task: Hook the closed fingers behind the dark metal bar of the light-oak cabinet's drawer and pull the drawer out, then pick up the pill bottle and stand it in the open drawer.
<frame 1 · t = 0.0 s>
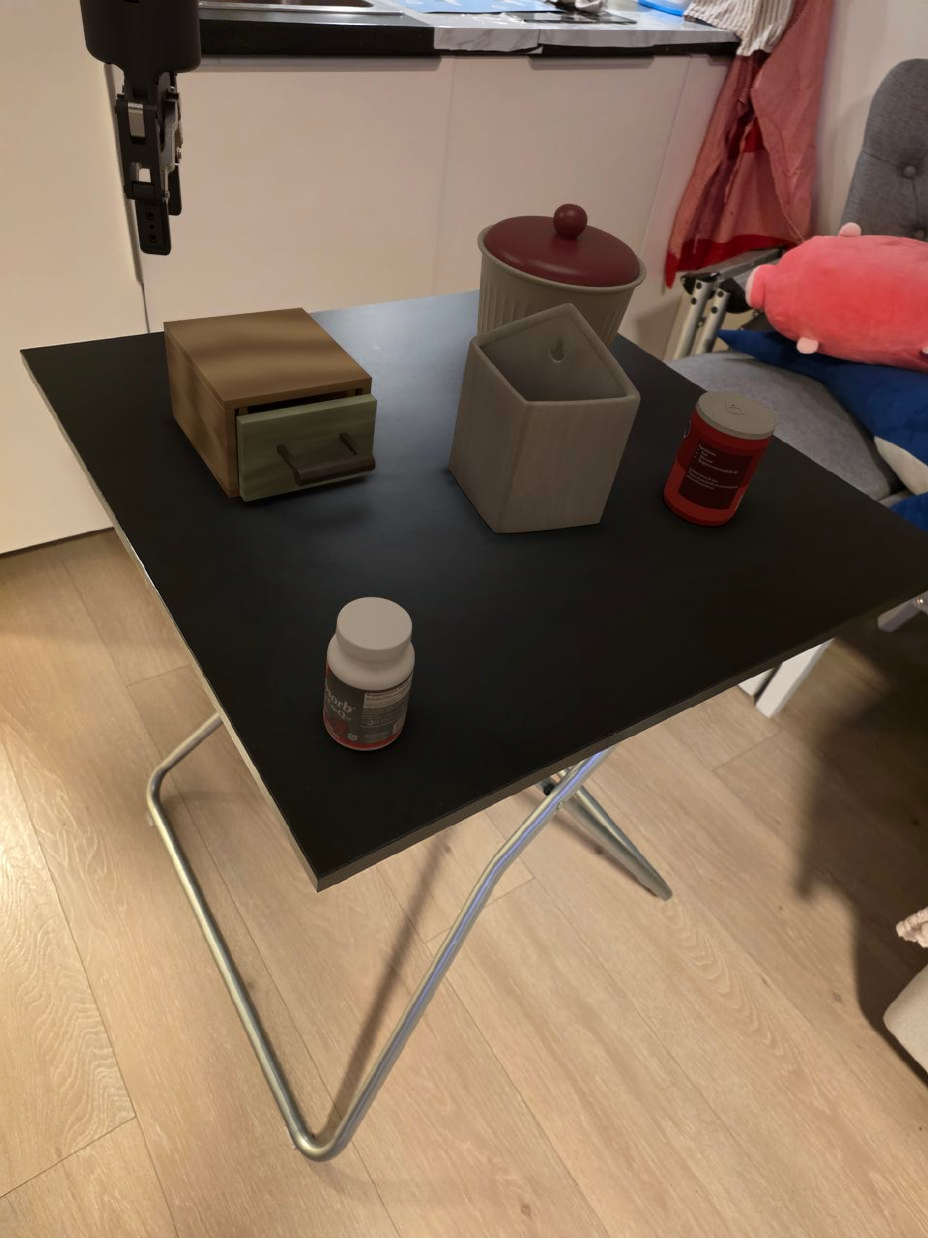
hand: (162, 232, 64), 19 cm above the table, tool pointing down, fingers open, 8 cm apart
pill bottle: (363, 722, 57), on the table
canister: (529, 395, 95), on the table
cabinet: (268, 442, 80), on the table
drawer: (291, 426, 73), point 5 cm above the table, slide at 1.0 cm
red supplement jar: (696, 506, 84), on the table
planter: (509, 513, 78), on the table
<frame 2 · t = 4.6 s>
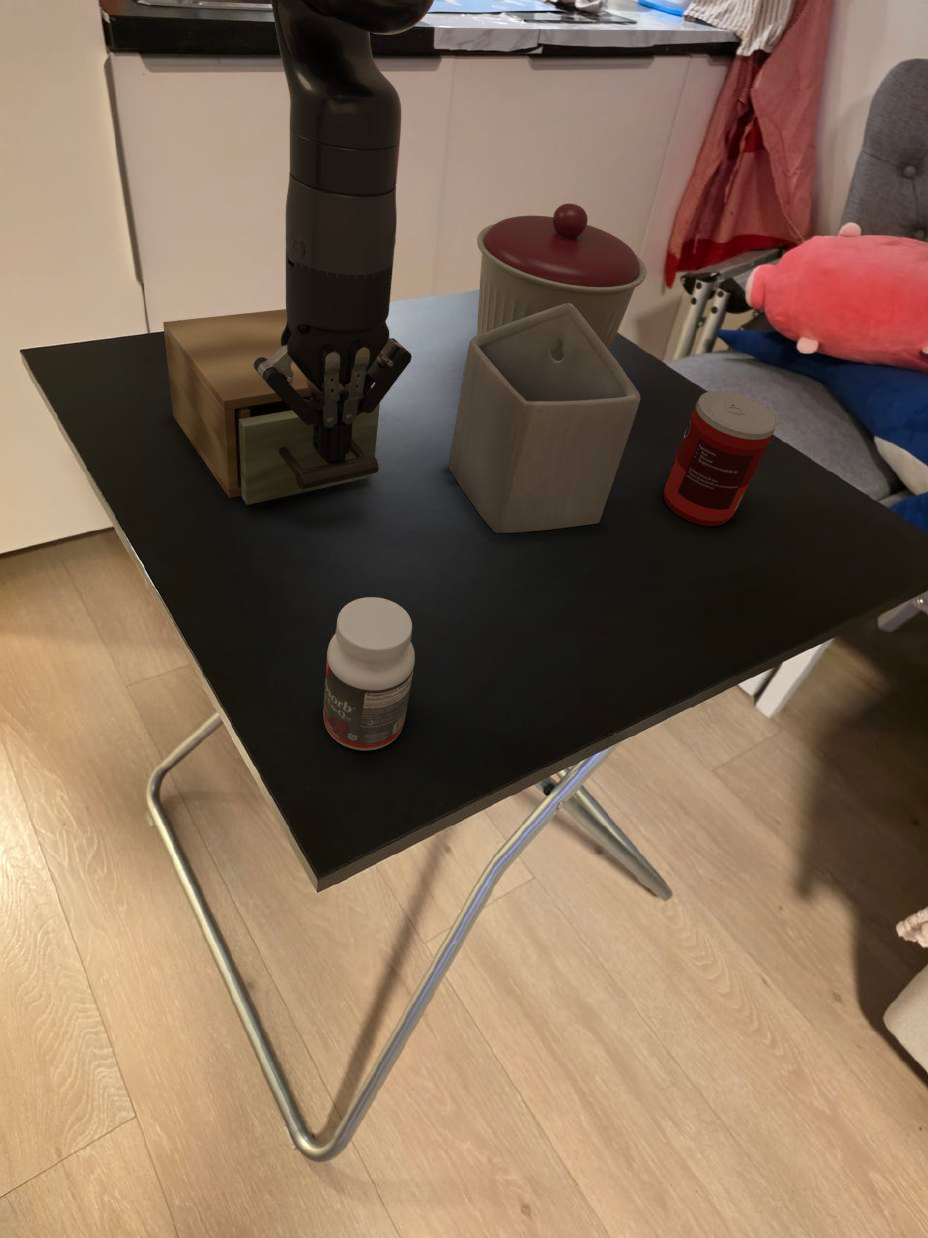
hand: (331, 457, 68), 6 cm above the table, tool pointing down, fingers closed
drawer: (293, 429, 73), point 5 cm above the table, slide at 1.5 cm, touching gripper
everything else where it was.
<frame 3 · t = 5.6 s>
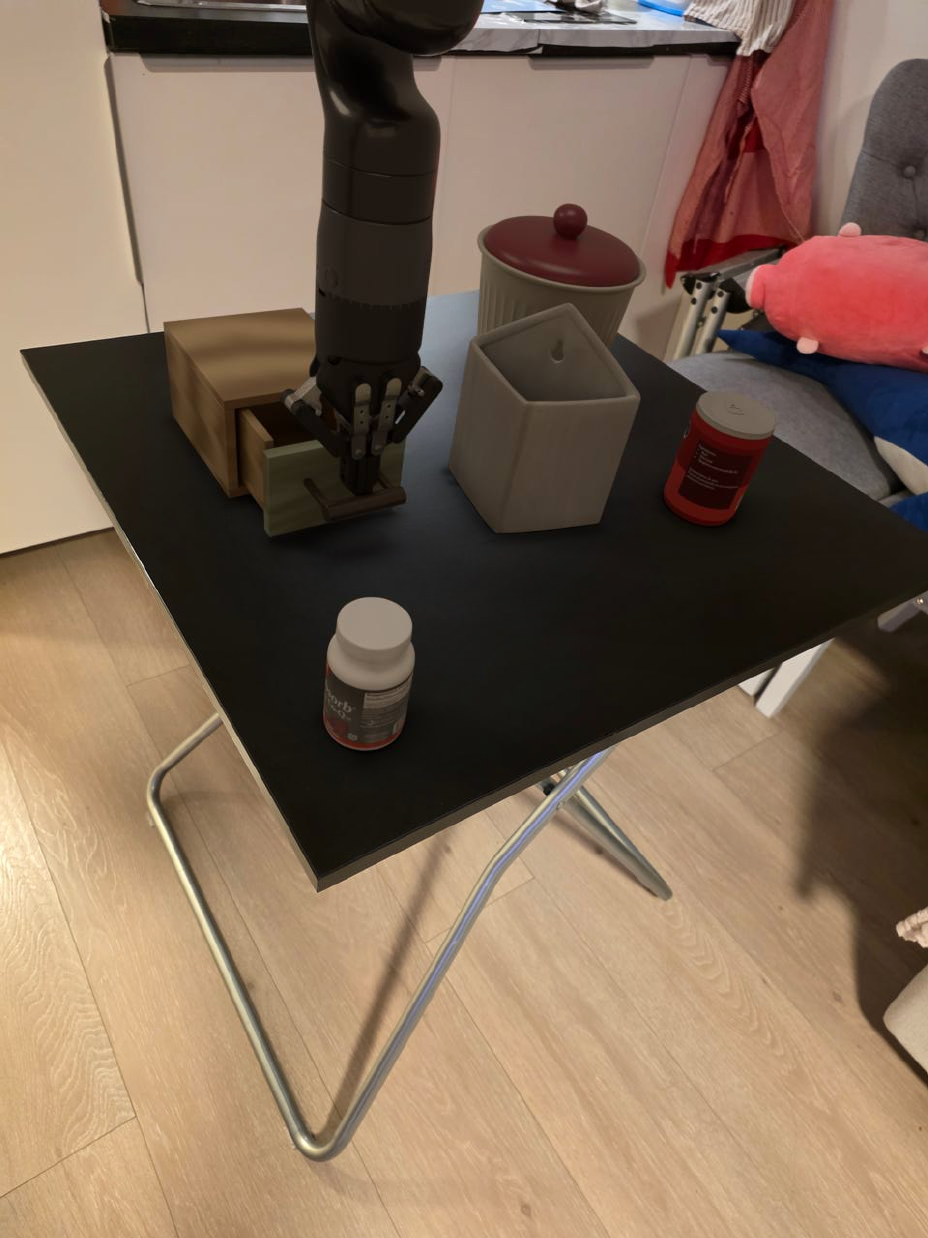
hand: (358, 488, 65), 6 cm above the table, tool pointing down, fingers closed
drawer: (317, 457, 70), point 5 cm above the table, slide at 6.3 cm, touching gripper
everything else where it was.
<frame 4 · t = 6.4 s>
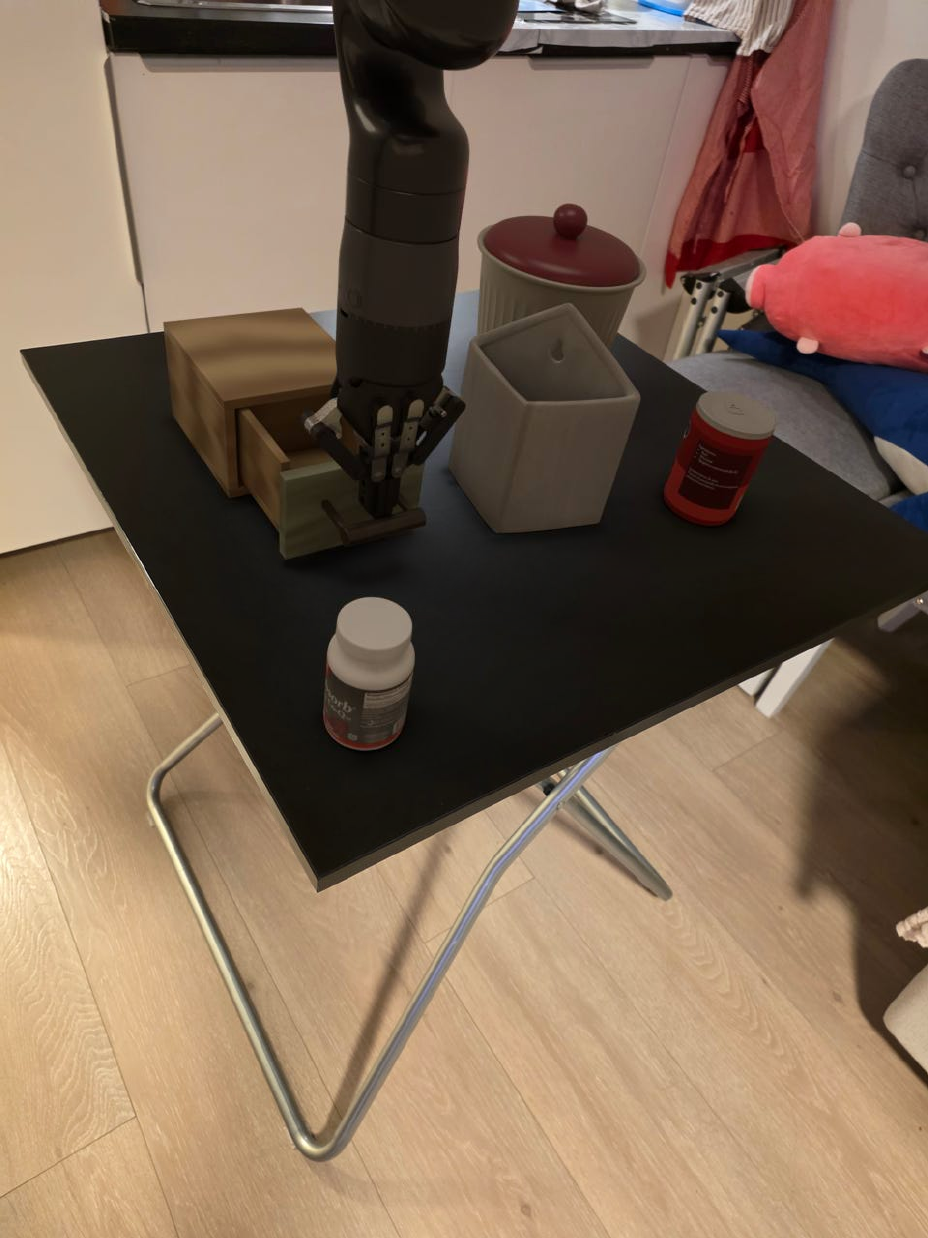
hand: (376, 511, 64), 6 cm above the table, tool pointing down, fingers closed
drawer: (333, 477, 69), point 5 cm above the table, slide at 9.5 cm, touching gripper
everything else where it was.
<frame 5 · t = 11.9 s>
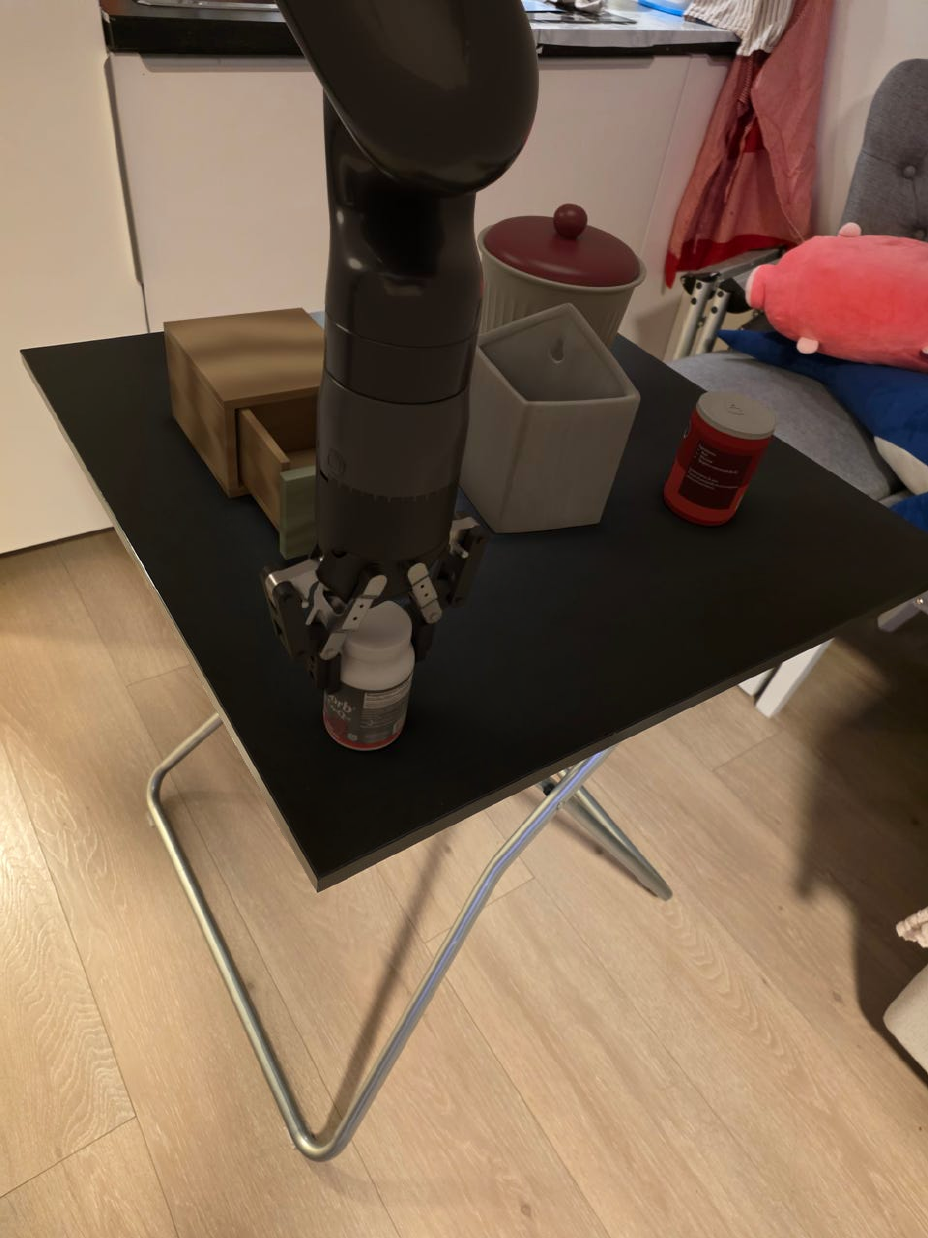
hand: (370, 668, 53), 6 cm above the table, tool pointing down, fingers closed on pill bottle, 5 cm apart
pill bottle: (363, 723, 57), on the table, touching gripper
drawer: (334, 477, 69), point 5 cm above the table, slide at 9.5 cm
everything else where it was.
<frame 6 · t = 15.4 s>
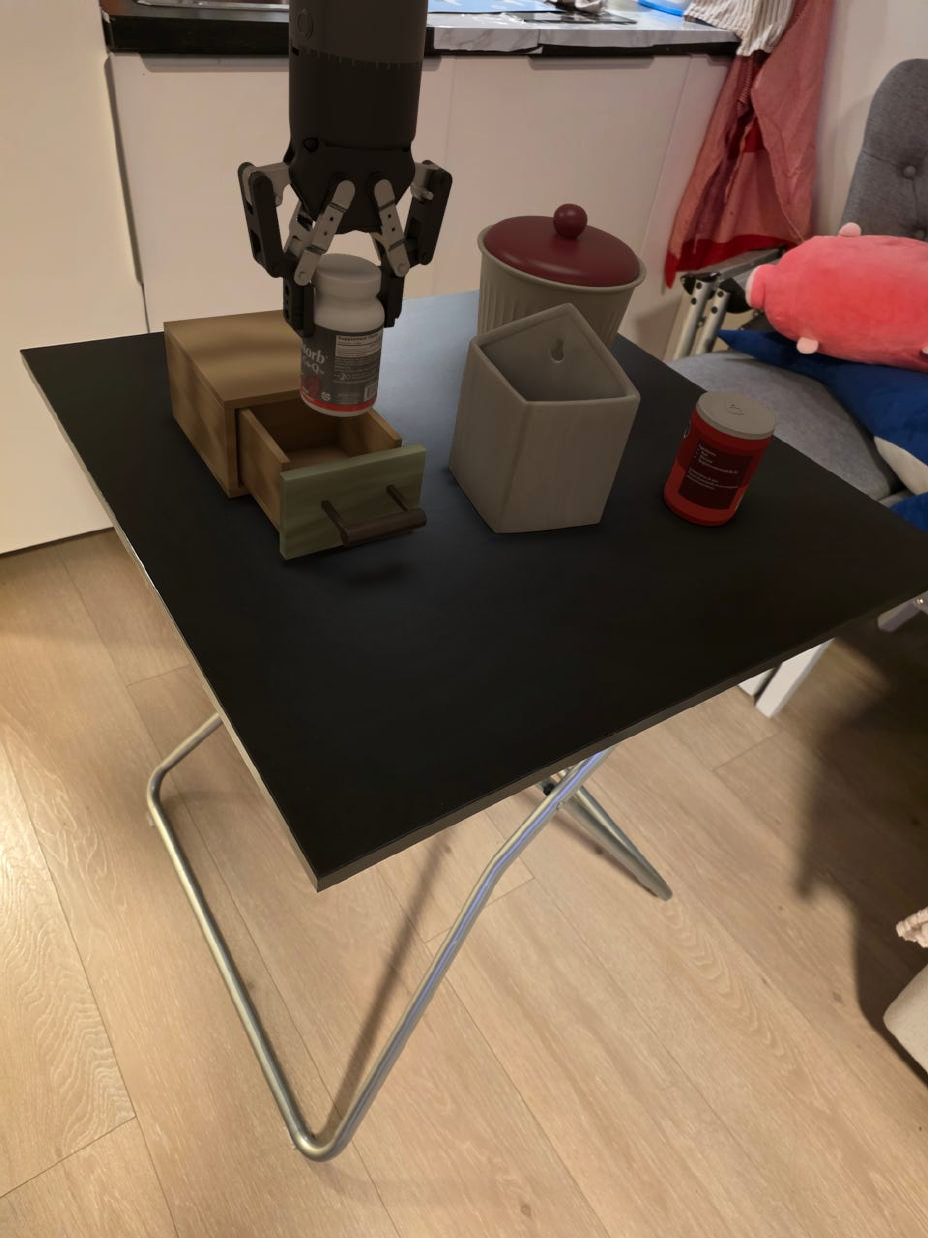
hand: (342, 327, 56), 20 cm above the table, tool pointing down, fingers closed on pill bottle, 5 cm apart
pill bottle: (338, 402, 60), point 14 cm above the table, touching gripper
everything else where it was.
when the fingers open (8 cm above the table, at t = 19.3 s): pill bottle stays where it is, resting on drawer.
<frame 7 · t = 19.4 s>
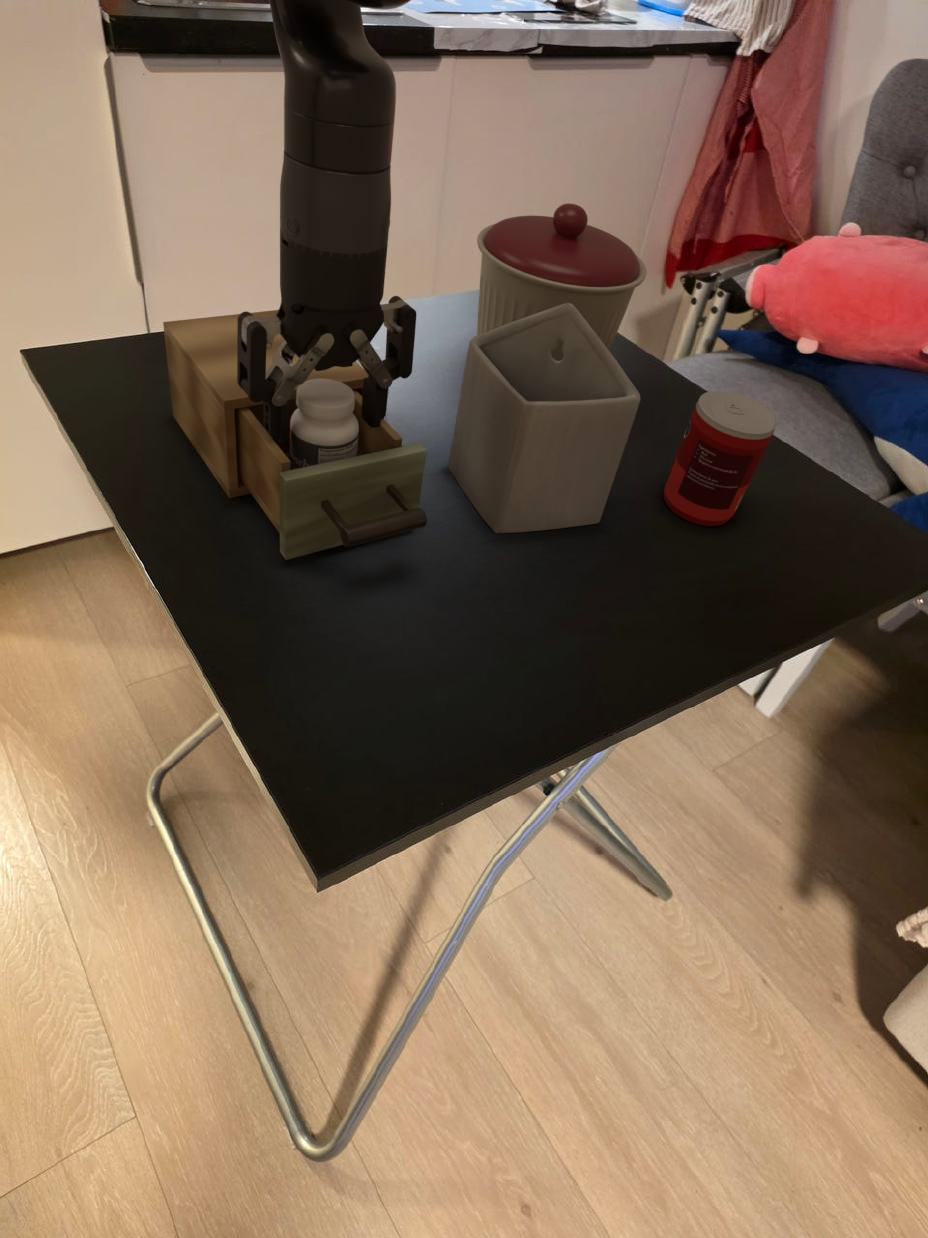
hand: (326, 431, 67), 8 cm above the table, tool pointing down, fingers open, 8 cm apart
pill bottle: (321, 494, 72), point 2 cm above the table, touching drawer
drawer: (334, 477, 69), point 5 cm above the table, slide at 9.5 cm, touching pill bottle
everything else where it was.
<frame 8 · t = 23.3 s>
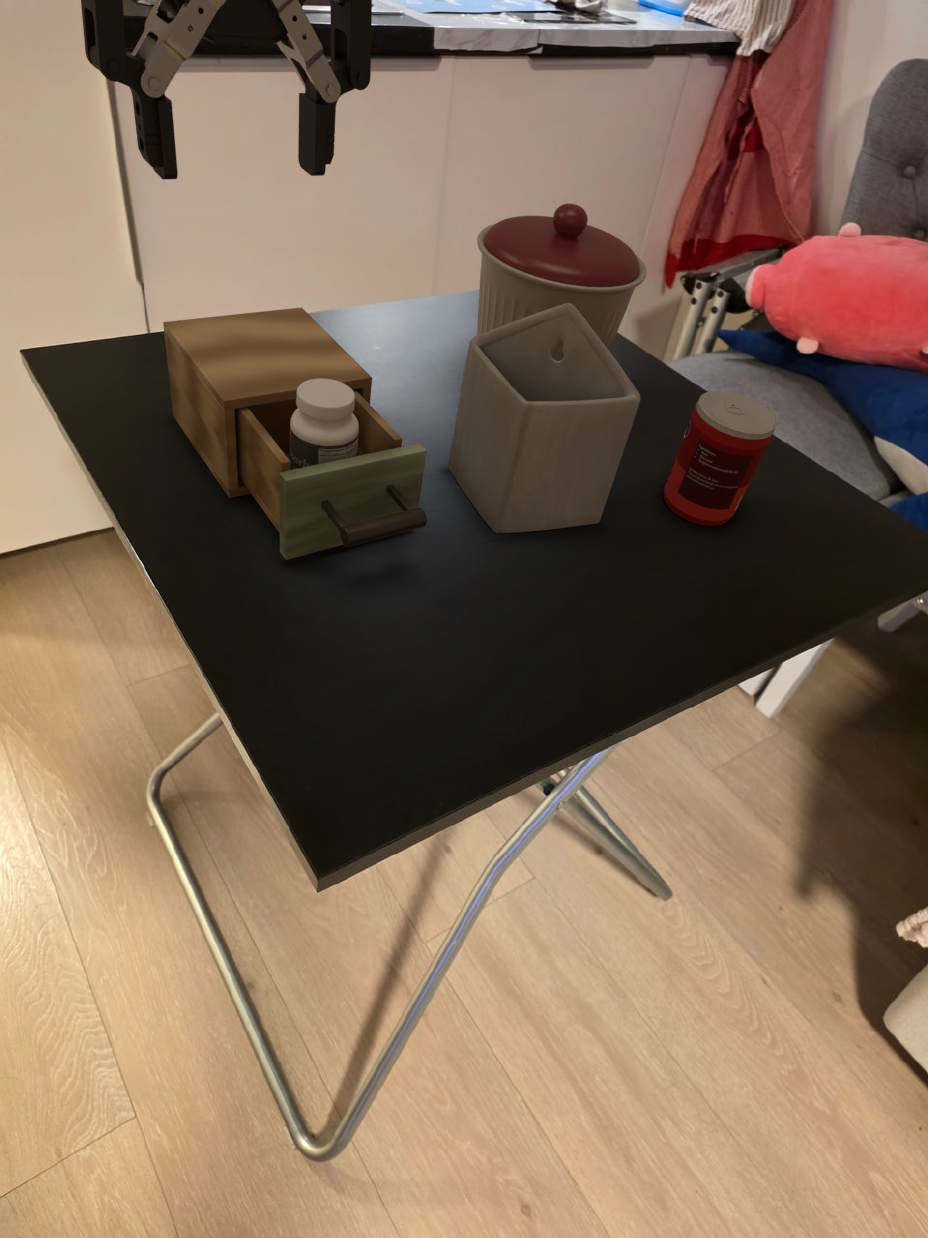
hand: (241, 173, 45), 30 cm above the table, tool pointing down, fingers open, 8 cm apart
nothing on the table moved.
at the end: drawer slide at 9.5 cm; pill bottle inside the target area in the drawer (0.2 cm from its centre), point 1.9 cm above the cabinet's base; pill bottle tilted 0° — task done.
